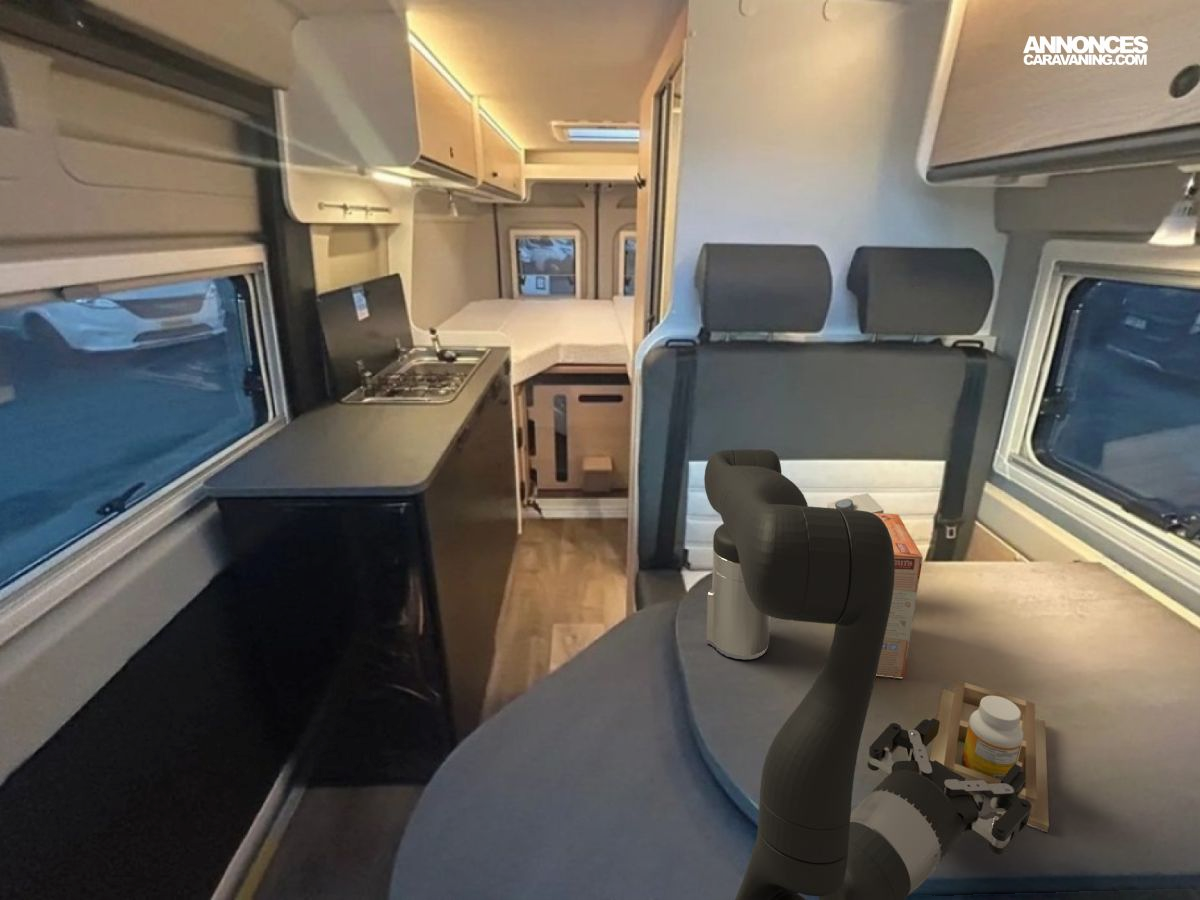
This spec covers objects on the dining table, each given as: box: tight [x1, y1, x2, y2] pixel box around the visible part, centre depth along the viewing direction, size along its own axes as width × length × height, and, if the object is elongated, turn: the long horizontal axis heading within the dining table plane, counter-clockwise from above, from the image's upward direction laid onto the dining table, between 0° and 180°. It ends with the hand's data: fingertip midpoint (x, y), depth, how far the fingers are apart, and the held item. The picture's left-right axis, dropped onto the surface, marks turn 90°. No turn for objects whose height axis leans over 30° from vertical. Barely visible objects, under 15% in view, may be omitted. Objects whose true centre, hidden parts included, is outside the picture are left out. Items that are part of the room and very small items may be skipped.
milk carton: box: [826, 493, 885, 513], centre depth 107 cm, size 7×7×20 cm
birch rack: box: [929, 680, 1050, 833], centre depth 78 cm, size 12×18×4 cm, turn 147°
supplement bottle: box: [962, 696, 1023, 780], centre depth 73 cm, size 5×5×10 cm
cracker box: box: [873, 512, 924, 678], centre depth 95 cm, size 14×6×21 cm, turn 168°
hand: (974, 747), depth 69 cm, fingers open, 8 cm apart
